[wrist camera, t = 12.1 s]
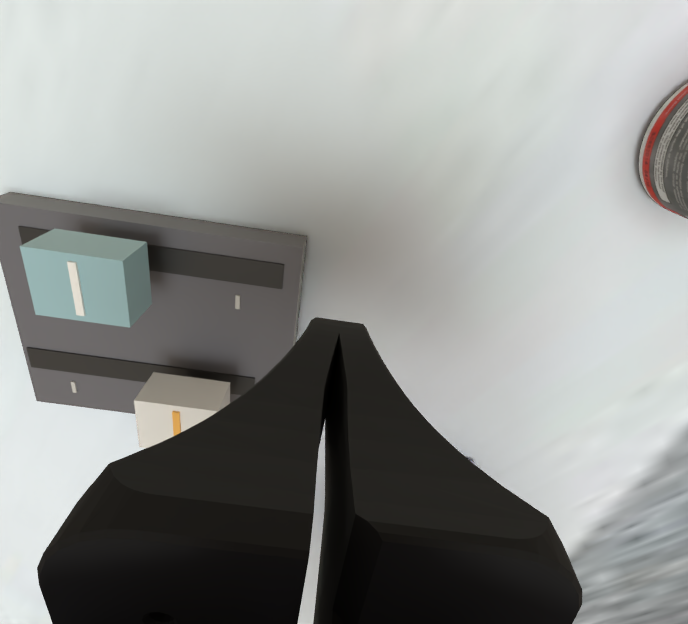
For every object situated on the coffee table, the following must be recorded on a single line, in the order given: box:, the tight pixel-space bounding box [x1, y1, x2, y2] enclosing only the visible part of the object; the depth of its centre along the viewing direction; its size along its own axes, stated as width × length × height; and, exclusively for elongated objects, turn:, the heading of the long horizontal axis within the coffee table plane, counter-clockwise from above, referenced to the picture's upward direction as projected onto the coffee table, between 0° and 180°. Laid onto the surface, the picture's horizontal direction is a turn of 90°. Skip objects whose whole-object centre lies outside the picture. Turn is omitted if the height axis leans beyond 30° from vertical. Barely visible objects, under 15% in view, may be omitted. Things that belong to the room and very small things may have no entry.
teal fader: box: [20, 229, 152, 328], centre depth 17 cm, size 3×4×3 cm
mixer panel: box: [0, 192, 307, 414], centre depth 22 cm, size 11×14×2 cm
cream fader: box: [134, 372, 230, 448], centre depth 21 cm, size 3×4×3 cm
